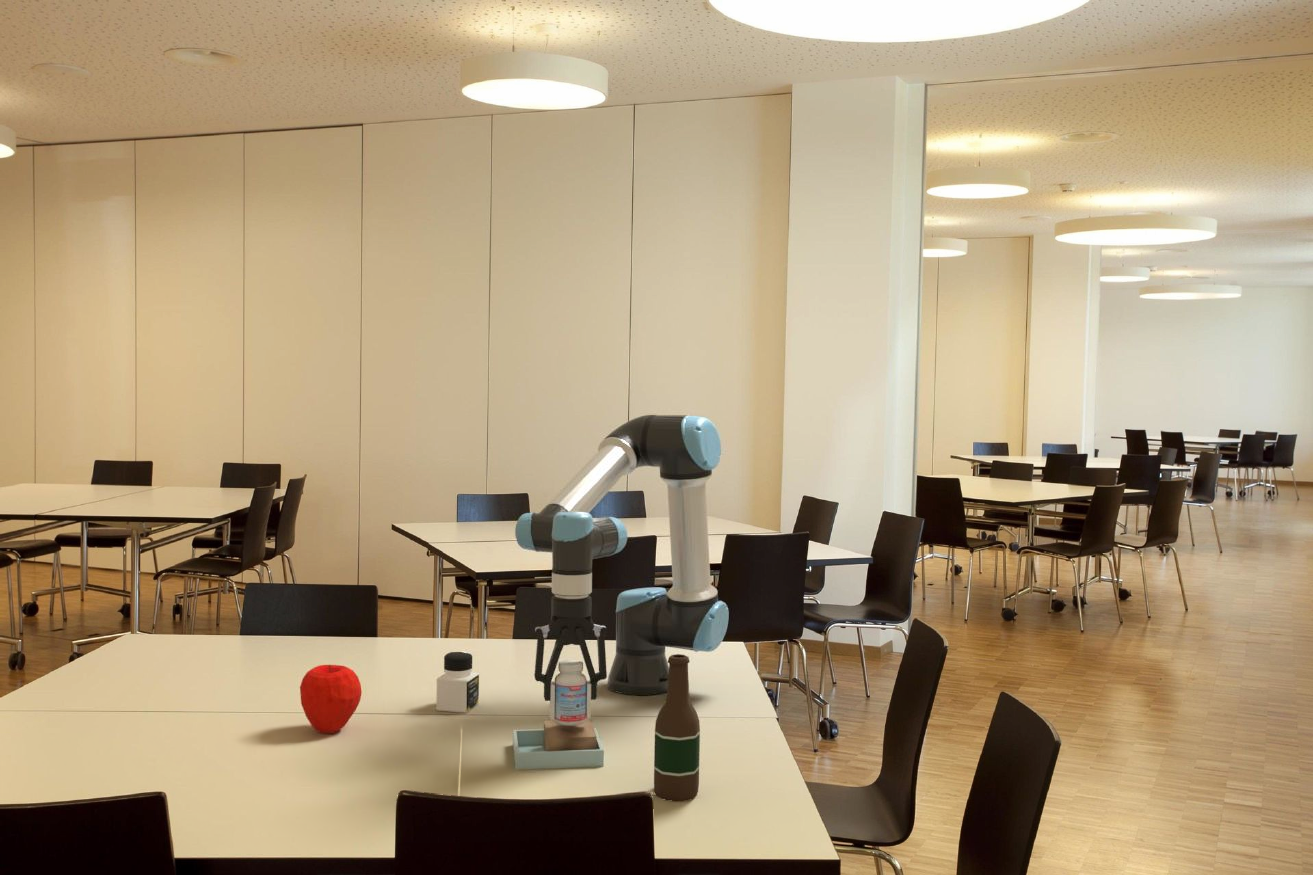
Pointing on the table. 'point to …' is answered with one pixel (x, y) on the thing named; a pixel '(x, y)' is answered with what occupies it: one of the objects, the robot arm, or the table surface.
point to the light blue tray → (551, 753)
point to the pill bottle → (570, 693)
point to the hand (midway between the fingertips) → (570, 716)
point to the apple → (330, 696)
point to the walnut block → (569, 736)
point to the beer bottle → (677, 738)
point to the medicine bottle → (457, 684)
